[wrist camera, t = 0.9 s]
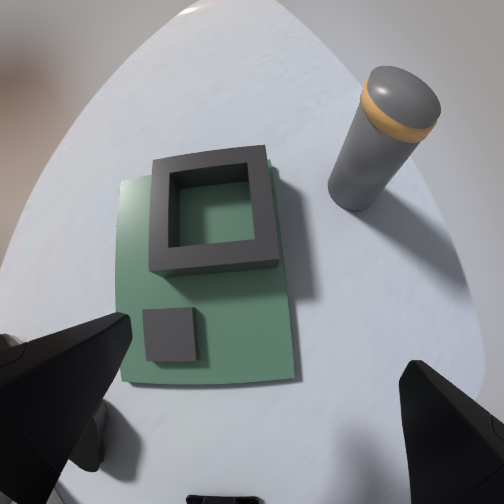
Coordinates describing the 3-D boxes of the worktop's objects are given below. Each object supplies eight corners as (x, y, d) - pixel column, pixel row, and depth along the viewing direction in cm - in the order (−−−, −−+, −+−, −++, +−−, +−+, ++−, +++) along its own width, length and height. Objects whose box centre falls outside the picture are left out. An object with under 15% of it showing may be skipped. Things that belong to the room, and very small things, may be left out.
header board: (293, 375, 20) (299, 386, 16) (126, 379, 20) (103, 387, 16) (269, 164, 24) (270, 139, 21) (124, 184, 24) (106, 165, 21)
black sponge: (122, 403, 20) (101, 413, 16) (109, 466, 18) (91, 481, 15) (15, 328, 22) (-7, 326, 18) (8, 388, 20) (-12, 390, 16)
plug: (379, 210, 23) (454, 127, 11) (332, 214, 23) (386, 118, 11) (367, 166, 24) (421, 71, 12) (322, 167, 24) (357, 60, 12)
